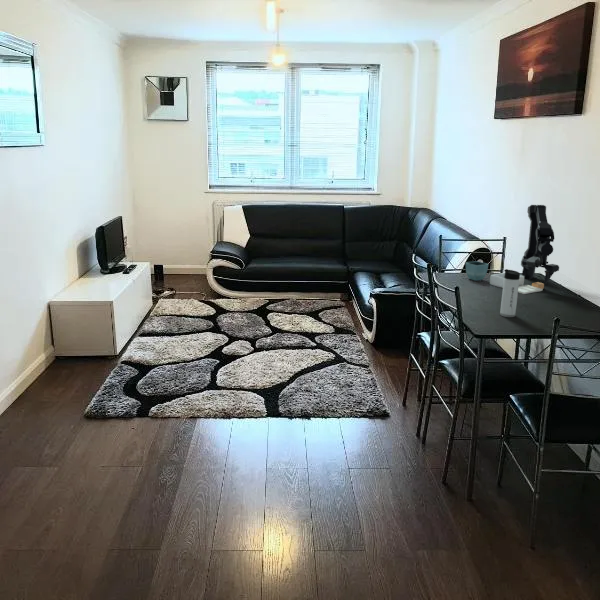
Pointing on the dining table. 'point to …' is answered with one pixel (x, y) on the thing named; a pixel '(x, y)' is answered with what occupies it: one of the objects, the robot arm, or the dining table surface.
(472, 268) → the flower pot
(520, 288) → the lid
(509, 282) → the travel mug
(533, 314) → the dining table surface
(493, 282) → the white open box
